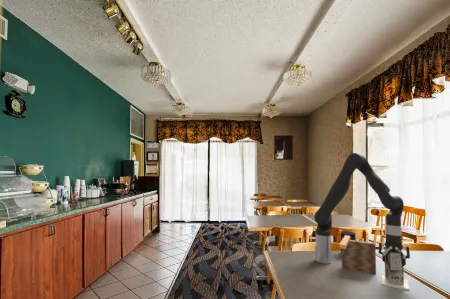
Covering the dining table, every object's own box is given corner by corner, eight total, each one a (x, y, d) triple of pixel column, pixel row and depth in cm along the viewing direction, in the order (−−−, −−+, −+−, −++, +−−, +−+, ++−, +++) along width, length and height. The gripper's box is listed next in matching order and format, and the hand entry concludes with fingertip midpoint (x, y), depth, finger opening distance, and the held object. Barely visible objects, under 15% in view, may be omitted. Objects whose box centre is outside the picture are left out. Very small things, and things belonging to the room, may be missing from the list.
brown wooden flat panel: (342, 268, 165) (341, 239, 166) (342, 266, 167) (342, 238, 169) (375, 274, 156) (375, 244, 157) (376, 272, 158) (375, 243, 159)
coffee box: (404, 285, 140) (403, 253, 141) (390, 284, 141) (389, 252, 142) (397, 278, 149) (397, 248, 150) (384, 277, 150) (384, 247, 151)
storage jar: (355, 253, 195) (355, 232, 196) (356, 257, 186) (355, 235, 187) (340, 251, 199) (340, 230, 200) (340, 255, 190) (340, 233, 191)
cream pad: (381, 285, 142) (381, 283, 142) (381, 276, 154) (381, 274, 154) (409, 290, 136) (409, 289, 136) (407, 280, 148) (407, 279, 148)
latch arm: (339, 248, 148) (339, 244, 148) (345, 238, 168) (345, 235, 168) (345, 249, 146) (345, 245, 146) (350, 239, 167) (350, 236, 167)
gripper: (378, 232, 147) (378, 263, 146) (409, 236, 140) (410, 269, 139) (378, 230, 153) (378, 259, 152) (408, 233, 146) (409, 264, 145)
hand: (393, 264), depth 145 cm, fingers open, 8 cm apart
